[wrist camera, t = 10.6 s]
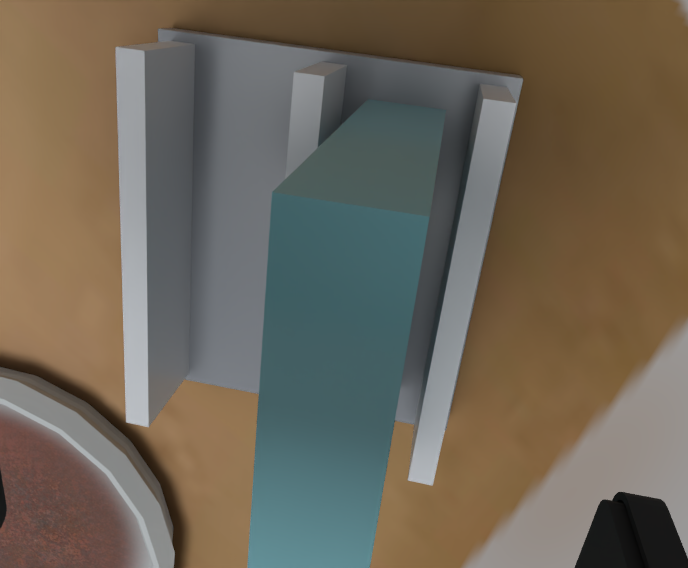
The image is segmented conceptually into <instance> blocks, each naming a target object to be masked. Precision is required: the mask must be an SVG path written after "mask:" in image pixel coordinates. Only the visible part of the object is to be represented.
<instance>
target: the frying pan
mask: <svg viewBox="0 0 688 568" xmlns="http://www.w3.org/2000/svg"><path fill="white" fill-rule="evenodd" d="M0 470H1V475H2V481H3V487H4V493H5V499H6V505H7V512H6V517H5V520H4V523H3V525H2V527H1V528H0V568H174V558H175V551H174V548H173V545H172V539H173V524H172V521H171V518H170V515H169V511H168V508H167V505H166V502H165V498H164V495H163V492H162V489H161V485H160V483H159V482H158V480H157V479H156V477H155V476H154V474H153V473H152V471H151V470H150V469H149V467H148V466H147V464H146V463H145V461H144V460H143V458H142V457H141V455H140V454H139V452H138V451H137V449H136V448H135V446H134V445H133V444H132V442H131V441H130V440H129V439H128V438H127V437H126V436H125V435H123V434H122V433H121V432H120V431H119V430H118V429H117V428H116V427H114V426H113V425H112V424H111V423H110V422H109V421H108V420H106V419H105V418H104V417H103V416H102V415H101V414H100V413H99V412H97V411H96V410H95V409H94V408H93V407H92V406H91V405H89V404H88V403H87V402H85V401H83V400H81V399H79V398H77V397H75V396H74V395H72V394H70V393H68V392H66V391H64V390H62V389H60V388H59V387H57V386H55V385H53V384H51V383H49V382H47V381H45V380H43V379H42V378H40V377H38V376H35V375H31V374H27V373H23V372H19V371H15V370H11V369H7V368H3V367H0Z"/></svg>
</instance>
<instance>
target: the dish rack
mask: <svg viewBox="0 0 688 568" xmlns="http://www.w3.org/2000/svg"><path fill="white" fill-rule="evenodd" d="M116 80H117V116H118V151H119V187H120V222H121V257H122V293H123V328H124V364H125V399H126V422H127V423H132V424H137V425H141V426H146V427H149V426H150V424H151V423H152V422H153V420H154V419H155V418H156V416H157V415H158V414H159V412H160V411H161V410H162V408H163V407H164V406H165V404H166V403H167V402H168V400H169V399H170V398H171V396H172V395H173V394H174V392H175V391H176V390H177V388H178V387H179V386H180V384H181V383H182V382H183V380H184V379H185V380H191V381H196V382H201V383H206V384H211V385H216V386H221V387H226V388H231V389H236V390H241V391H247V392H252V393H257V394H259V384H260V368H261V353H262V338H263V322H264V307H265V292H266V276H267V261H268V245H269V230H270V215H271V199H272V192H273V191H274V190H275V189H276V188H277V187H278V186H279V185H280V184H281V183H282V182H283V181H284V180H285V179H286V178H287V177H288V176H289V175H290V174H291V173H292V172H293V171H294V170H295V169H296V168H297V167H299V166H300V165H301V164H302V163H303V162H304V161H305V160H306V159H307V158H308V157H309V156H310V155H311V154H312V153H313V152H314V151H315V150H316V149H317V148H318V147H319V146H320V145H321V144H322V143H323V142H324V141H325V140H326V139H327V138H328V137H329V136H330V135H332V134H333V133H334V132H335V131H336V130H337V129H338V128H339V127H340V126H341V125H342V124H343V123H344V122H345V121H346V120H347V119H348V118H349V117H350V116H351V115H352V114H353V113H354V112H355V111H356V110H357V109H358V108H359V107H360V106H361V105H362V104H363V103H365V102H366V101H367V100H368V99H371V100H378V101H385V102H393V103H400V104H407V105H415V106H422V107H429V108H437V109H444V110H446V115H445V121H444V128H443V134H442V140H441V147H440V153H439V160H438V166H437V173H436V179H435V185H434V192H433V198H432V205H431V211H430V217H429V223H428V229H427V235H426V241H425V247H424V252H423V258H422V264H421V270H420V276H419V282H418V288H417V293H416V299H415V305H414V311H413V317H412V323H411V329H410V334H409V340H408V346H407V352H406V358H405V364H404V370H403V375H402V381H401V387H400V393H399V399H398V405H397V410H396V416H395V421H399V422H404V423H409V424H414V431H413V440H412V449H411V458H410V466H409V475H408V481H413V482H418V483H423V484H428V485H433V481H434V477H435V472H436V468H437V463H438V459H439V454H440V449H441V445H442V440H443V436H444V431H446V428H447V423H448V419H449V414H450V410H451V405H452V401H453V396H454V391H455V387H456V382H457V378H458V373H459V369H460V364H461V360H462V355H463V351H464V346H465V341H466V337H467V332H468V328H469V323H470V319H471V314H472V310H473V305H474V301H475V296H476V292H477V287H478V282H479V278H480V273H481V269H482V264H483V260H484V255H485V251H486V246H487V242H488V237H489V233H490V228H491V223H492V219H493V214H494V210H495V205H496V201H497V196H498V192H499V187H500V183H501V178H502V173H503V169H504V164H505V160H506V155H507V151H508V146H509V142H510V137H511V133H512V128H513V124H514V119H515V114H516V110H517V105H518V101H519V96H520V92H521V87H522V83H523V78H522V77H521V75H514V74H506V73H499V72H492V71H484V70H477V69H470V68H462V67H455V66H448V65H440V64H433V63H426V62H418V61H411V60H404V59H396V58H389V57H382V56H374V55H367V54H360V53H352V52H345V51H338V50H330V49H323V48H316V47H308V46H301V45H294V44H286V43H279V42H272V41H264V40H257V39H250V38H242V37H235V36H228V35H220V34H213V33H206V32H198V31H191V30H184V29H176V28H161V29H158V42H154V43H146V44H137V45H128V46H119V47H116Z"/></svg>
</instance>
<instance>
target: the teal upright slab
mask: <svg viewBox="0 0 688 568" xmlns="http://www.w3.org/2000/svg"><path fill="white" fill-rule="evenodd" d="M445 115H446V110H444V109H437V108H429V107H422V106H415V105H407V104H400V103H393V102H385V101H378V100H371V99H368V100H367V101H366V102H365V103H363V104H362V105H361V106H360V107H359V108H358V109H357V110H356V111H355V112H354V113H353V114H352V115H351V116H350V117H349V118H348V119H347V120H346V121H345V122H344V123H343V124H342V125H341V126H340V127H339V128H338V129H337V130H336V131H335V132H334V133H333V134H332V135H330V136H329V137H328V138H327V139H326V140H325V141H324V142H323V143H322V144H321V145H320V146H319V147H318V148H317V149H316V150H315V151H314V152H313V153H312V154H311V155H310V156H309V157H308V158H307V159H306V160H305V161H304V162H303V163H302V164H301V165H300V166H299V167H297V168H296V169H295V170H294V171H293V172H292V173H291V174H290V175H289V176H288V177H287V178H286V179H285V180H284V181H283V182H282V183H281V184H280V185H279V186H278V187H277V188H276V189H275V190H274V191H273V192H272V199H271V215H270V230H269V245H268V261H267V276H266V292H265V307H264V322H263V338H262V353H261V368H260V384H259V399H258V415H257V430H256V445H255V461H254V476H253V492H252V507H251V522H250V538H249V553H248V568H370V563H371V557H372V551H373V545H374V539H375V533H376V528H377V522H378V516H379V510H380V504H381V498H382V492H383V487H384V481H385V475H386V469H387V463H388V457H389V451H390V446H391V440H392V434H393V428H394V422H395V416H396V410H397V405H398V399H399V393H400V387H401V381H402V375H403V370H404V364H405V358H406V352H407V346H408V340H409V334H410V329H411V323H412V317H413V311H414V305H415V299H416V293H417V288H418V282H419V276H420V270H421V264H422V258H423V252H424V247H425V241H426V235H427V229H428V223H429V217H430V211H431V205H432V198H433V192H434V185H435V179H436V173H437V166H438V160H439V153H440V147H441V140H442V134H443V128H444V121H445Z"/></svg>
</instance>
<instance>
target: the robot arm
mask: <svg viewBox="0 0 688 568" xmlns="http://www.w3.org/2000/svg"><path fill="white" fill-rule="evenodd" d="M6 512H7V505H6V499H5V493H4V487H3V481H2V475H1V470H0V528H1V527H2V525H3V523H4V520H5V517H6ZM575 568H688V558H687V556H686V553H685V551H684V548H683V546H682V543H681V540H680V538H679V535H678V533H677V530H676V528H675V525H674V523H673V520H672V518H671V515H670V513H669V510H668V508H667V506H666V504H665V503H664V502H663V501H662V500H661V499H656V498H651V497H646V496H640V495H635V494H630V493H625V492H618V493H617V494H616V495H615V496H614V498H613V500H612V501H610V500H602V501H601V502H600V504H599V506H598V508H597V511H596V514H595V516H594V519H593V521H592V524H591V527H590V529H589V532H588V535H587V537H586V540H585V542H584V545H583V547H582V550H581V553H580V555H579V558H578V560H577V563H576V566H575Z"/></svg>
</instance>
